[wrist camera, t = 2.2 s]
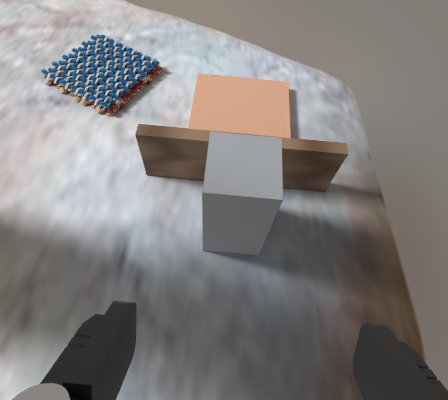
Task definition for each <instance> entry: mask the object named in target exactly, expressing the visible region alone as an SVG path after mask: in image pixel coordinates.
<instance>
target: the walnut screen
mask: <svg viewBox="0 0 448 400" xmlns="http://www.w3.org/2000/svg"><path fill="white" fill-rule="evenodd" d="M213 132H219V131H213ZM223 133H230V132H223ZM234 134H241V133H234ZM245 135H252V134H245ZM209 136H210V131H209V130H198V129H187V128H177V127H166V126H155V125H144V124H138V127H137V131H136V138H137V142H138V145H139V149H140V152H141V156H142V160H143V163H144V167H145V170H146V174H147V175H153V176H164V177H175V178H186V179H196V180H204V176H205V168H206V160H207V152H208V144H209ZM255 136H262V135H255ZM266 137H273V136H266ZM277 138H282V179H283V187H284V188H294V189H305V190H316V191H325V190H326V188H327V187H328V185H329V184H330V182H331V181H332V179H333V177H334V176H335V174H336V173H337V171H338V169H339V168H340V166H341V165H342V163H343V162H344V160H345V158H346V157H347V155H348V151H347V144H346V143H337V142H327V141H316V140H305V139H295V138H284V137H277Z"/></svg>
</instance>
